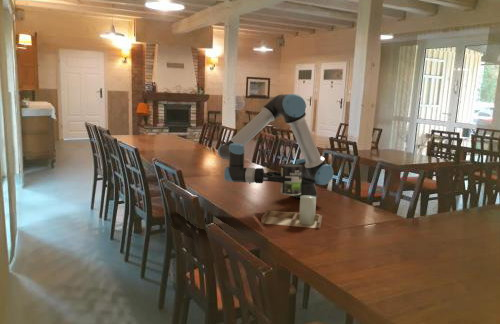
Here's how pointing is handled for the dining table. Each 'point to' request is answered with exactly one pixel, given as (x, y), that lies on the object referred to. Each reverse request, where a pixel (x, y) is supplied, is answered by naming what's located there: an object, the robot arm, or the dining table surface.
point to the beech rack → (287, 219)
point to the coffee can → (291, 187)
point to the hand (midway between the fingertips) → (299, 177)
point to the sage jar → (307, 210)
